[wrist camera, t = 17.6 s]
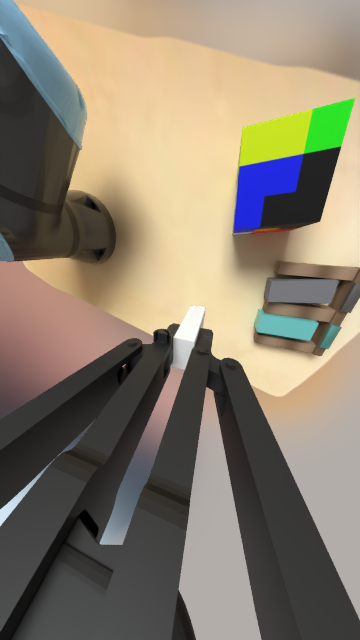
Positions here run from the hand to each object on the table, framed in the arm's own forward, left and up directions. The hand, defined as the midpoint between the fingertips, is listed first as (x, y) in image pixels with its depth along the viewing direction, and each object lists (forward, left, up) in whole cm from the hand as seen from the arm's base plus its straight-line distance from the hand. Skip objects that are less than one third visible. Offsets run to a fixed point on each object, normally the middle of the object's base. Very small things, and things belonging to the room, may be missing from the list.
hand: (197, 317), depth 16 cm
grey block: (+16, +1, -21) cm, 27 cm away
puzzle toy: (+7, +15, -21) cm, 27 cm away
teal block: (+16, -7, -21) cm, 27 cm away
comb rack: (+18, -3, -21) cm, 28 cm away
